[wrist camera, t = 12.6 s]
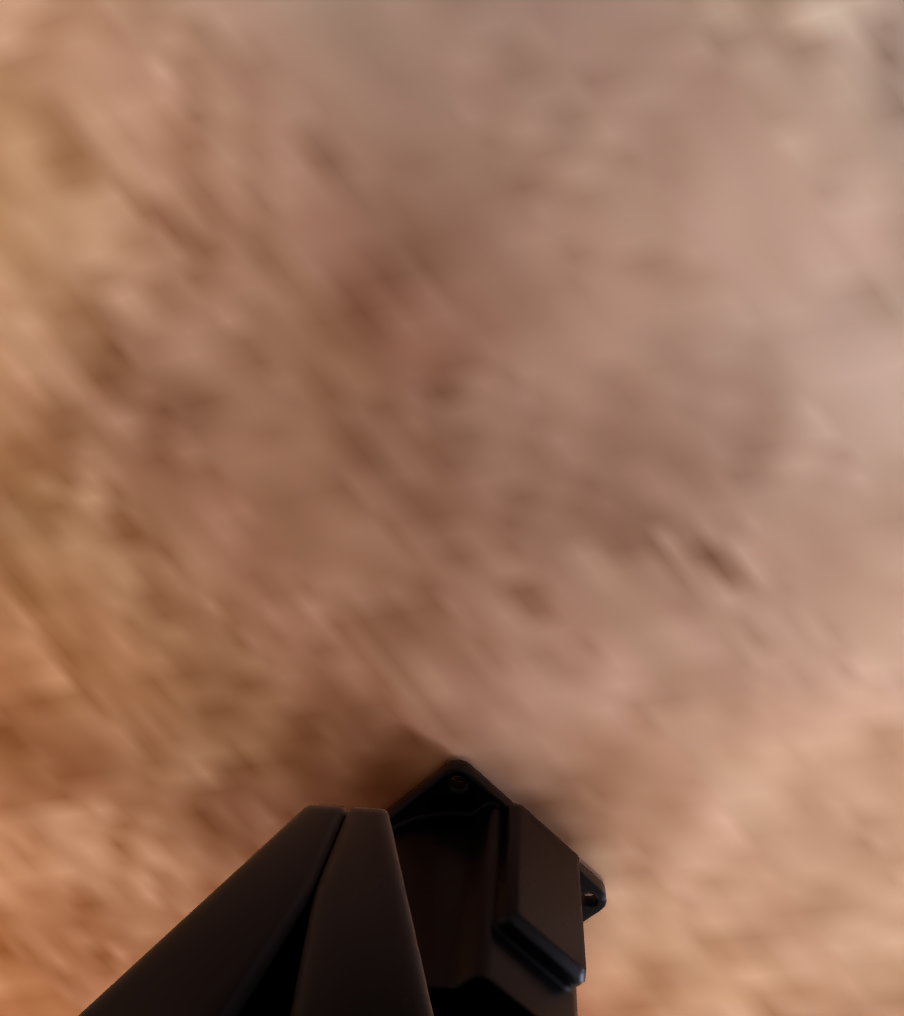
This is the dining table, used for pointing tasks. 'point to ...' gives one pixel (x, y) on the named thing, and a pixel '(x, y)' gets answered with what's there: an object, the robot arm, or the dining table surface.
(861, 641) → the dining table surface
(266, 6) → the dining table surface
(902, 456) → the dining table surface
